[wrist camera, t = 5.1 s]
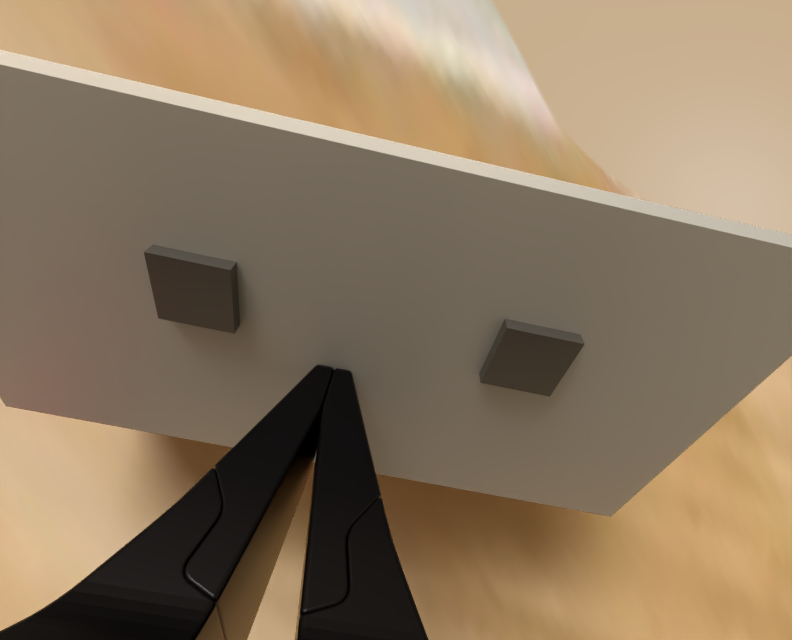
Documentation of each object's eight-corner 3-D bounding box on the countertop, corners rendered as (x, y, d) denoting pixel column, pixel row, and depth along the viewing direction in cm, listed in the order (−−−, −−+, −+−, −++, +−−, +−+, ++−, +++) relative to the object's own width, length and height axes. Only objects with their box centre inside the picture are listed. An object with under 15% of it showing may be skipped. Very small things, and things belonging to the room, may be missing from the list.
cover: (602, 492, 13) (614, 526, 12) (29, 385, 12) (-4, 414, 11) (849, 248, 7) (904, 279, 7) (-179, 7, 6) (-277, 6, 5)
